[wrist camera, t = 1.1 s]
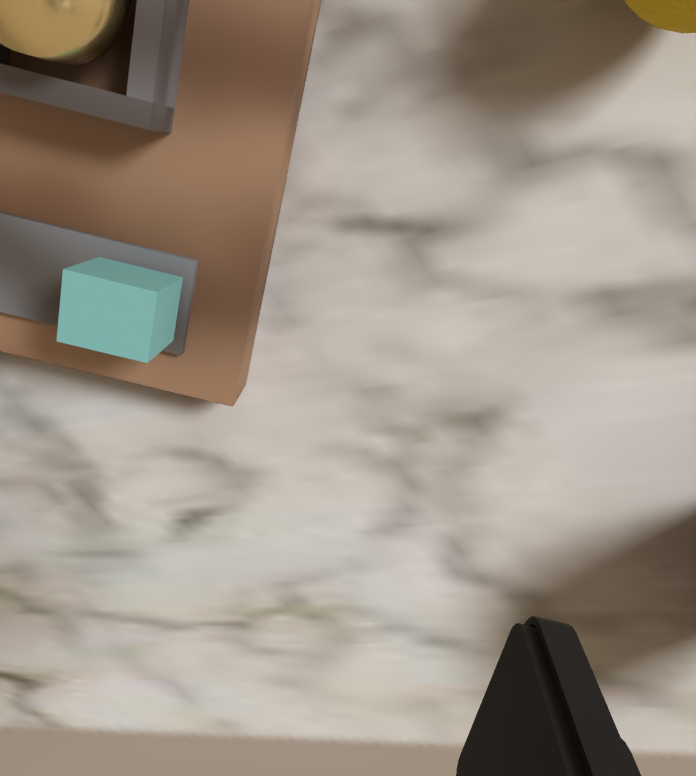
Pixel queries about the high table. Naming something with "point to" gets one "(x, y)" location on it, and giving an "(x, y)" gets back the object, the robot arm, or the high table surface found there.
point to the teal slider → (118, 308)
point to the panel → (154, 179)
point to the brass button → (62, 28)
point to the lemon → (667, 14)
